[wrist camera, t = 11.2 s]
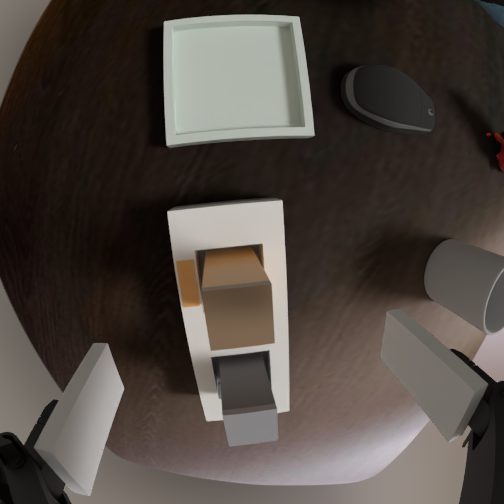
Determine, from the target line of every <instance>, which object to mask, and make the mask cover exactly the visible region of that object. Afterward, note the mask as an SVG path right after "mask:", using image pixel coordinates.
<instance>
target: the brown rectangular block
mask: <svg viewBox="0 0 504 504" xmlns="http://www.w3.org/2000/svg"><path fill="white" fill-rule="evenodd" d="M201 293H202V300H203V306H204V313H205V319H206V325H207V332H208V338H209V344H210V349H211V351H215V350H224V349H234V348H242V347H250V346H258V345H266V344H273V343H275V337H274V318H273V300H272V284H271V282H270V280H269V278H268V276H267V274H266V273H265V271H264V269H263V267H262V265H261V263H260V262H259V260H258V258H257V256H256V254H255V252H254V251H253V249H252V247H243V248H233V249H224V250H214V251H206V256H205V264H204V272H203V281H202V290H201Z"/></svg>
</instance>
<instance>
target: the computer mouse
mask: <svg viewBox="0 0 504 504" xmlns="http://www.w3.org/2000/svg"><path fill="white" fill-rule="evenodd" d="M341 97H342V100H343V103H344V105H345V106H346V108H347V109H348V110H349V111H350V112H351V113H352V114H353V115H354V116H356V117H357V118H359V119H360V120H362V121H363V122H365V123H367V124H369V125H371V126H373V127H375V128H378V129H380V130H384V131H388V132H394V133H402V134H424V133H427V132H429V131H431V130H432V129H433V127H434V122H435V117H434V116H435V112H434V105H433V102H432V100H431V99H430V98H429V97H428V95H427V94H426V93H425V92H424V91H423V90H422V89H421V88H420V87H419V86H418V85H417V84H416V83H415V82H414V81H413V80H412V79H411V78H410V77H408V76H407V75H406V74H404V73H403V72H401V71H400V70H398V69H395V68H393V67H389V66H384V65H365V66H360V67H357V68H354V69H352V70H350V71H349V72H348V73H346V74H345V75H344V77H343V79H342V82H341Z"/></svg>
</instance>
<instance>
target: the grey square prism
mask: <svg viewBox="0 0 504 504" xmlns="http://www.w3.org/2000/svg"><path fill="white" fill-rule="evenodd" d="M219 364H220V383H221V400H222V415H223V420H224V425H225V429H226V434H227V438H228V443H229V446H239V445H248V444H255V443H263V442H269V441H275V440H278V421H277V407H276V403H275V400H274V396H273V393H272V389H271V386H270V382H269V379H268V375H267V372H266V368H265V365H264V361H263V358H262V354H261V351H260V352H253V353H245V354H236V355H227V356H219Z"/></svg>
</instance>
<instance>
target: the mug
mask: <svg viewBox="0 0 504 504" xmlns="http://www.w3.org/2000/svg"><path fill="white" fill-rule="evenodd" d="M424 285H425V290H426V292H427V294H428V296H429V297H430V298H431V299H432V300H433V301H435V302H437V303H438V304H440V305H442V306H444V307H445V308H447V309H449V310H450V311H452V312H453V313H455V314H456V315H458V316H460V317H461V318H463V319H464V320H466V321H467V322H469V323H470V324H472V325H473V326H475V327H476V328H478V329H479V330H481V331H482V332H484V333H486V334H488V335H493V334H496V333H498V332H499V331H501V330H502V329H503V328H504V257H503V256H501V255H498V254H495V253H492V252H490V251H487V250H484V249H481V248H478V247H475V246H473V245H470V244H467V243H464V242H462V241H459V240H455V239H449V240H445V241H443V242H442V243H440V244H439V245H438V246H437V247H436V248H435V249H434V251H433V252H432V254H431V255H430V257H429V259H428V262H427V265H426V268H425V273H424Z"/></svg>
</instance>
